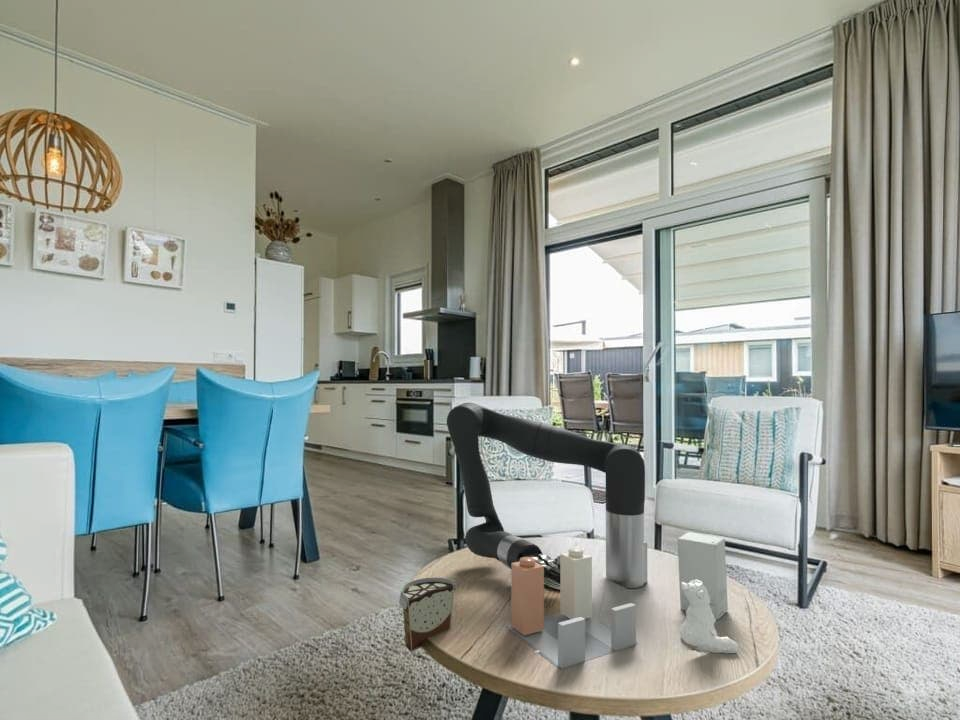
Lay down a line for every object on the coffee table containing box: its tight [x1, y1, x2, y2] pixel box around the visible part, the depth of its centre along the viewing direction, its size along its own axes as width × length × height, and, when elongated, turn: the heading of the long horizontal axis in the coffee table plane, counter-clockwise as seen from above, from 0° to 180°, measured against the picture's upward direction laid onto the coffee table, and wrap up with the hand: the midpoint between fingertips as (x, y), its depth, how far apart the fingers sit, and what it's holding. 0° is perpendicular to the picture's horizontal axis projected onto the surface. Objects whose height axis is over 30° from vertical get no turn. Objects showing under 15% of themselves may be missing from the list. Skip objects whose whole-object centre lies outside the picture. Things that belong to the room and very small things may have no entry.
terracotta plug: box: [510, 557, 545, 636], centre depth 101 cm, size 4×4×13 cm
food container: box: [398, 577, 457, 653], centre depth 100 cm, size 12×6×10 cm, turn 135°
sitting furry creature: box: [679, 580, 739, 654], centre depth 97 cm, size 10×9×12 cm
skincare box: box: [677, 531, 729, 621], centre depth 113 cm, size 8×7×16 cm
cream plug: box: [559, 547, 593, 619], centre depth 106 cm, size 4×4×13 cm
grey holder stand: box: [505, 602, 639, 671], centre depth 98 cm, size 18×17×8 cm
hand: (564, 579), depth 110 cm, fingers closed
